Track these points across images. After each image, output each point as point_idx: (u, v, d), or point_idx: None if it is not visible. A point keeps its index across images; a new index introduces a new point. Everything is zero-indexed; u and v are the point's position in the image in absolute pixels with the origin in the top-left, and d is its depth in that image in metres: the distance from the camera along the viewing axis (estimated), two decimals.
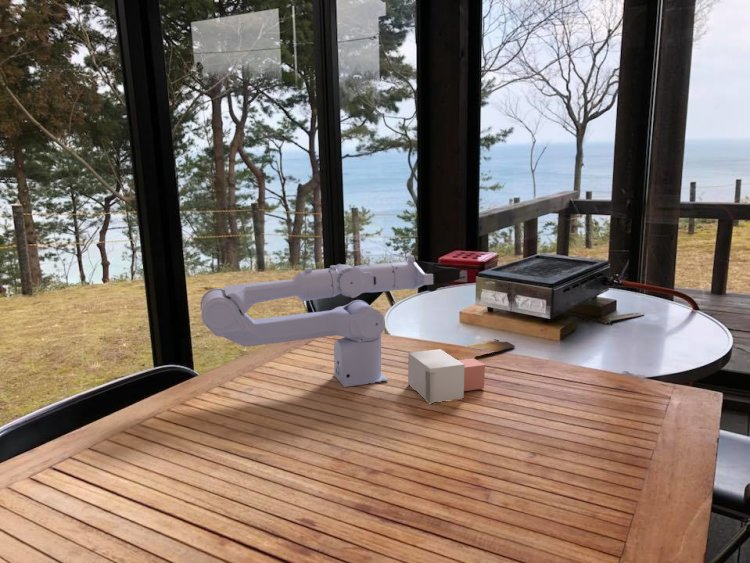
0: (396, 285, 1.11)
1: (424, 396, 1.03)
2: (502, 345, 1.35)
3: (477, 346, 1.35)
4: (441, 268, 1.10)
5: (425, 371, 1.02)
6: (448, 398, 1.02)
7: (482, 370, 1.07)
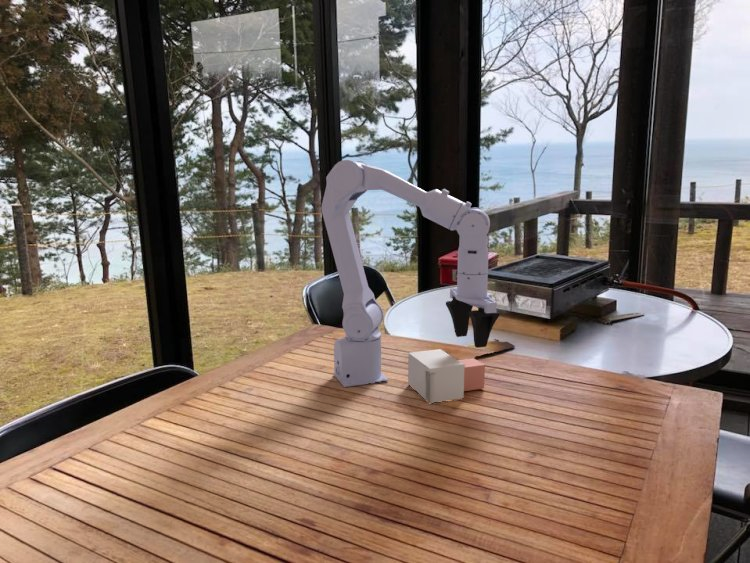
0: (472, 277, 1.03)
1: (424, 396, 1.03)
2: (502, 345, 1.35)
3: None
4: (493, 324, 1.03)
5: (425, 371, 1.02)
6: (448, 398, 1.02)
7: (482, 370, 1.07)
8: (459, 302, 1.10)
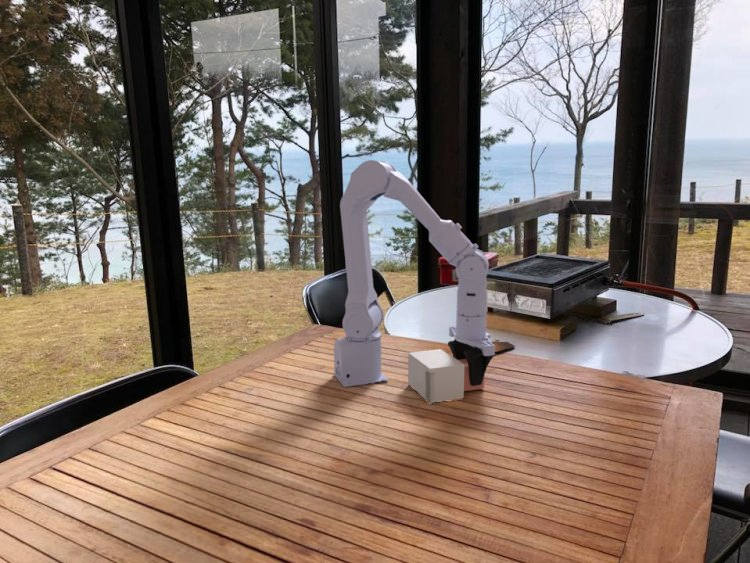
0: (470, 319, 1.04)
1: (424, 396, 1.03)
2: (502, 345, 1.35)
3: None
4: (488, 363, 1.05)
5: (425, 371, 1.02)
6: (448, 398, 1.02)
7: None
8: (461, 343, 1.10)
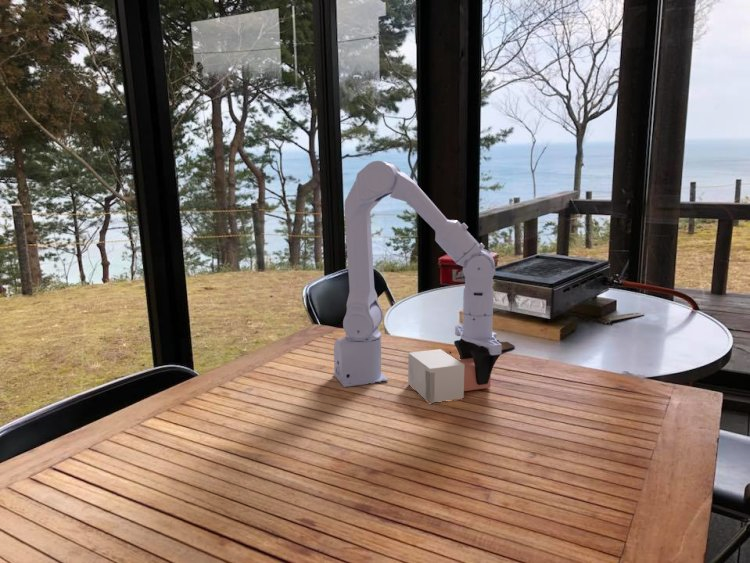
0: (477, 318, 1.04)
1: (424, 396, 1.03)
2: (502, 345, 1.35)
3: None
4: (494, 362, 1.06)
5: (425, 371, 1.02)
6: (448, 398, 1.02)
7: None
8: (467, 342, 1.10)
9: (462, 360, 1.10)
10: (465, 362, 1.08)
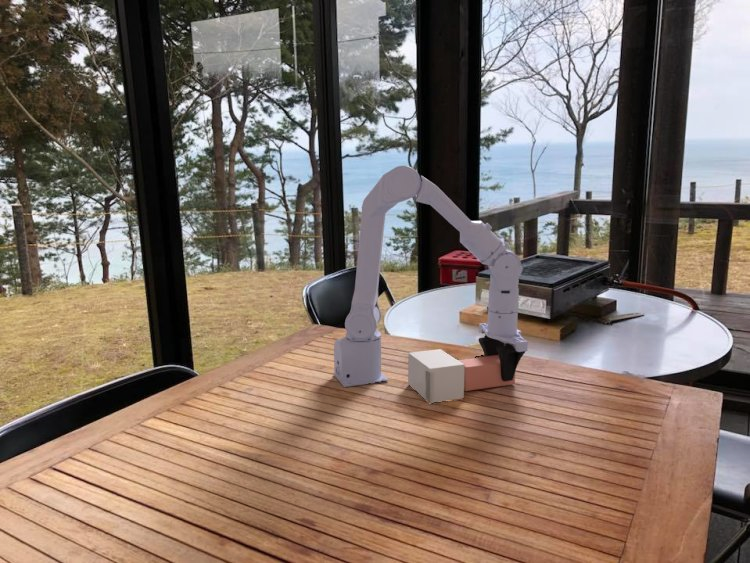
0: (503, 315, 1.06)
1: (424, 396, 1.03)
2: None
3: (477, 346, 1.35)
4: (519, 359, 1.07)
5: (425, 371, 1.02)
6: (448, 398, 1.02)
7: None
8: (492, 339, 1.12)
9: (487, 357, 1.12)
10: (490, 359, 1.10)
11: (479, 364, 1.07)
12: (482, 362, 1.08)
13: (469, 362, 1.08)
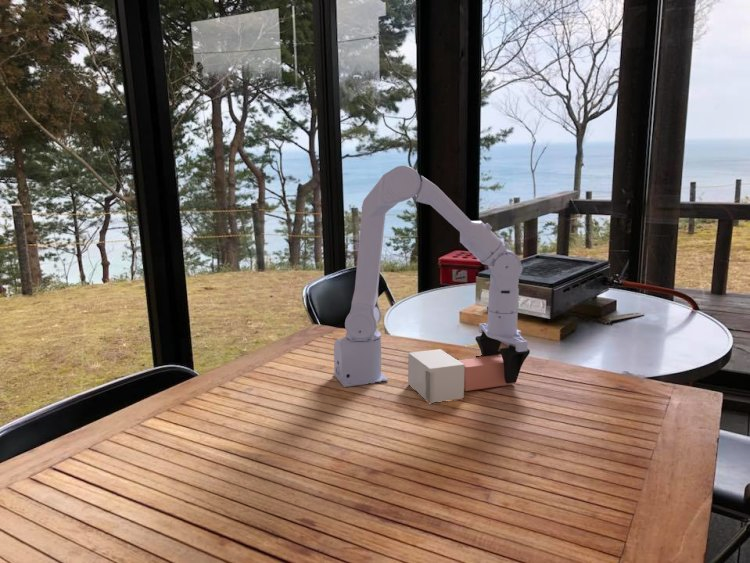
0: (503, 315, 1.06)
1: (424, 396, 1.03)
2: (502, 345, 1.35)
3: (477, 346, 1.35)
4: (523, 361, 1.06)
5: (425, 371, 1.02)
6: (448, 398, 1.02)
7: None
8: (488, 337, 1.13)
9: (487, 357, 1.12)
10: (490, 359, 1.10)
11: (479, 364, 1.07)
12: (482, 362, 1.08)
13: (469, 362, 1.08)
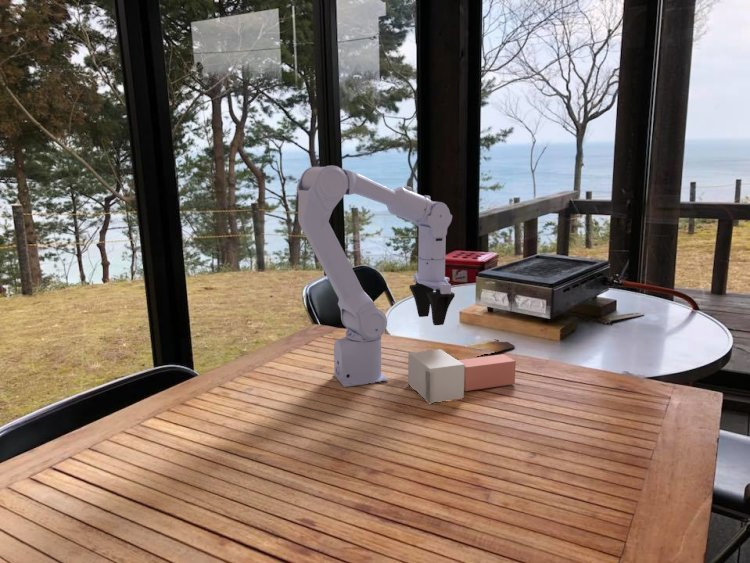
0: (430, 262, 1.15)
1: (424, 396, 1.03)
2: (502, 345, 1.35)
3: (477, 346, 1.35)
4: (449, 304, 1.15)
5: (425, 371, 1.02)
6: (448, 398, 1.02)
7: (513, 366, 1.09)
8: (421, 285, 1.22)
9: (487, 357, 1.12)
10: (490, 359, 1.10)
11: (479, 364, 1.07)
12: (482, 362, 1.08)
13: (469, 362, 1.08)
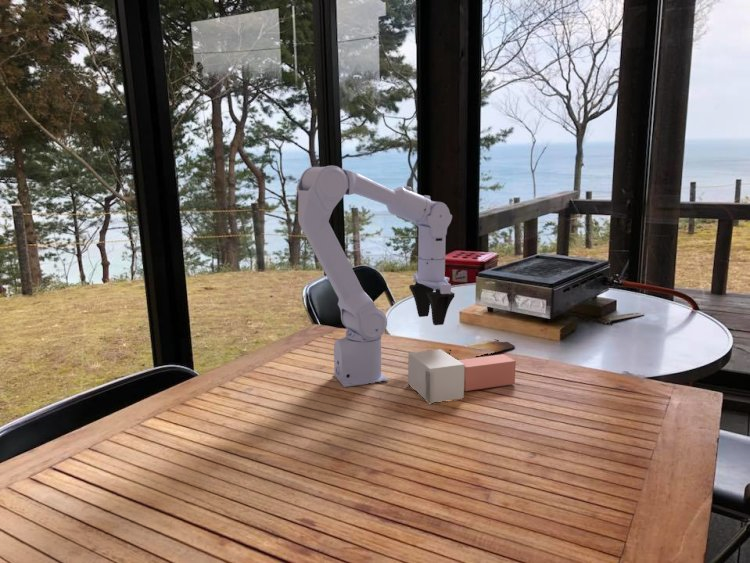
0: (430, 262, 1.15)
1: (424, 396, 1.03)
2: (502, 345, 1.35)
3: (477, 346, 1.35)
4: (449, 304, 1.15)
5: (425, 371, 1.02)
6: (448, 398, 1.02)
7: (513, 366, 1.09)
8: (421, 285, 1.22)
9: (487, 357, 1.12)
10: (490, 359, 1.10)
11: (479, 364, 1.07)
12: (482, 362, 1.08)
13: (469, 362, 1.08)
